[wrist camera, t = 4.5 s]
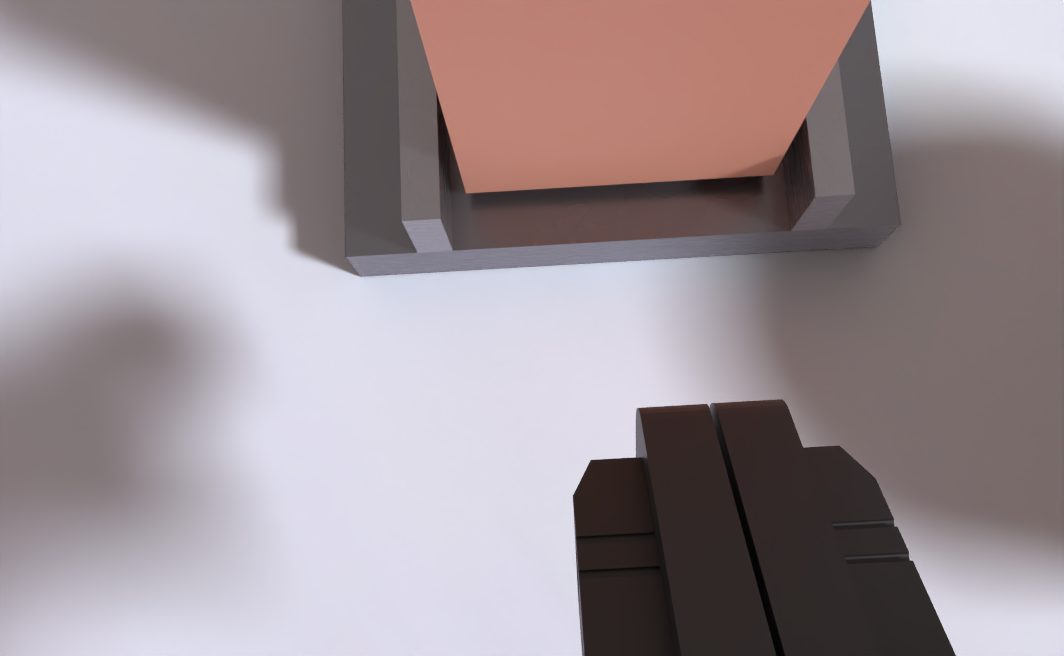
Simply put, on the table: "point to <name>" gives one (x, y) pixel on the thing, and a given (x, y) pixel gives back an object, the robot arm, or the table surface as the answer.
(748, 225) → the rail base
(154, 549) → the table surface
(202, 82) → the table surface
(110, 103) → the table surface
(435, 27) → the salmon pink block
